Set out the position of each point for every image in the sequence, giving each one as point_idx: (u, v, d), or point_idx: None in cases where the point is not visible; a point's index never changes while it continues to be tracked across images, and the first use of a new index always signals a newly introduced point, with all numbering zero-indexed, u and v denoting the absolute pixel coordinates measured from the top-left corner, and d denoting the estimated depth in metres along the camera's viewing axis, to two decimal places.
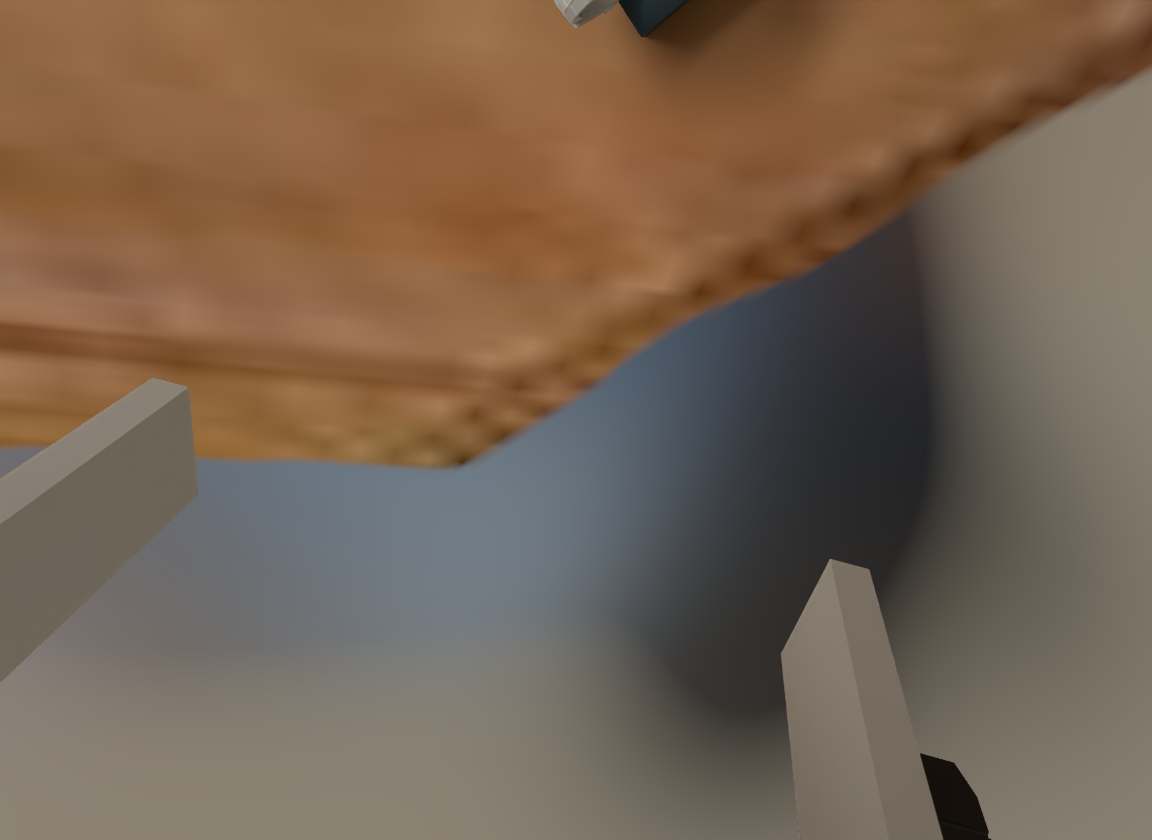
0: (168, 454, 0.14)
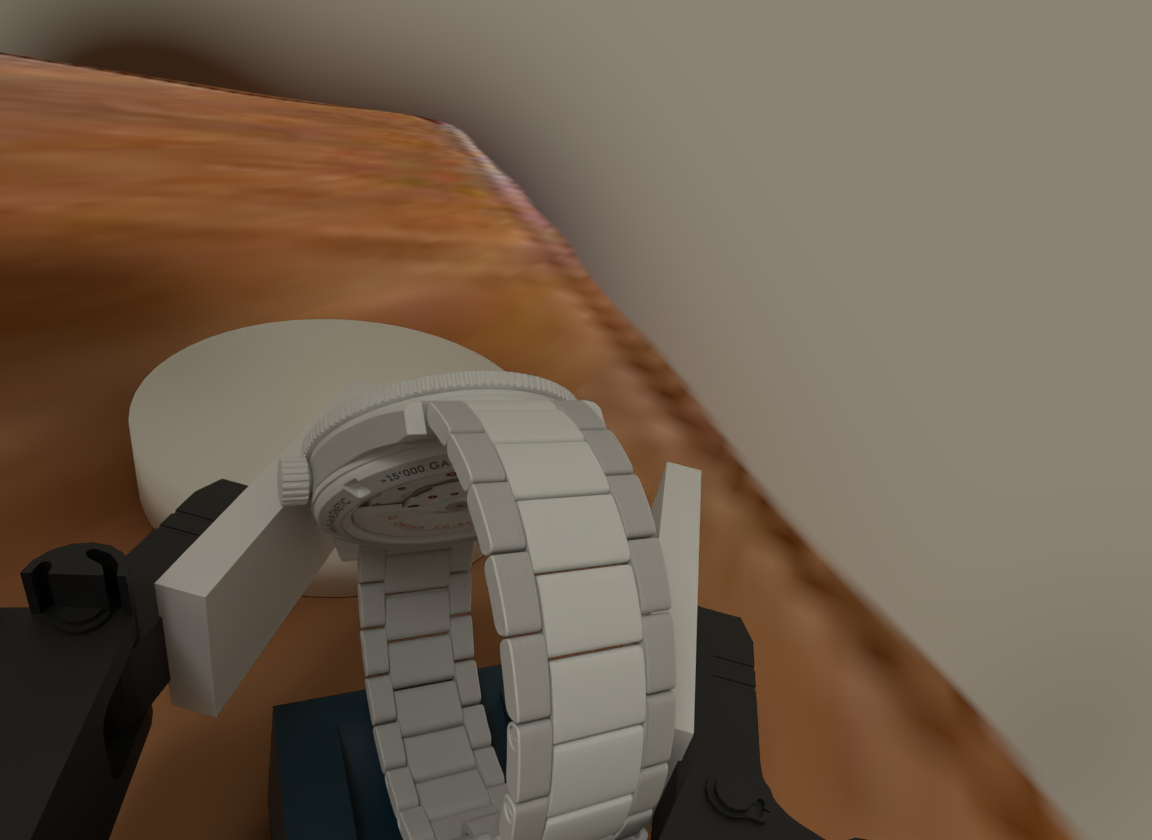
0: None
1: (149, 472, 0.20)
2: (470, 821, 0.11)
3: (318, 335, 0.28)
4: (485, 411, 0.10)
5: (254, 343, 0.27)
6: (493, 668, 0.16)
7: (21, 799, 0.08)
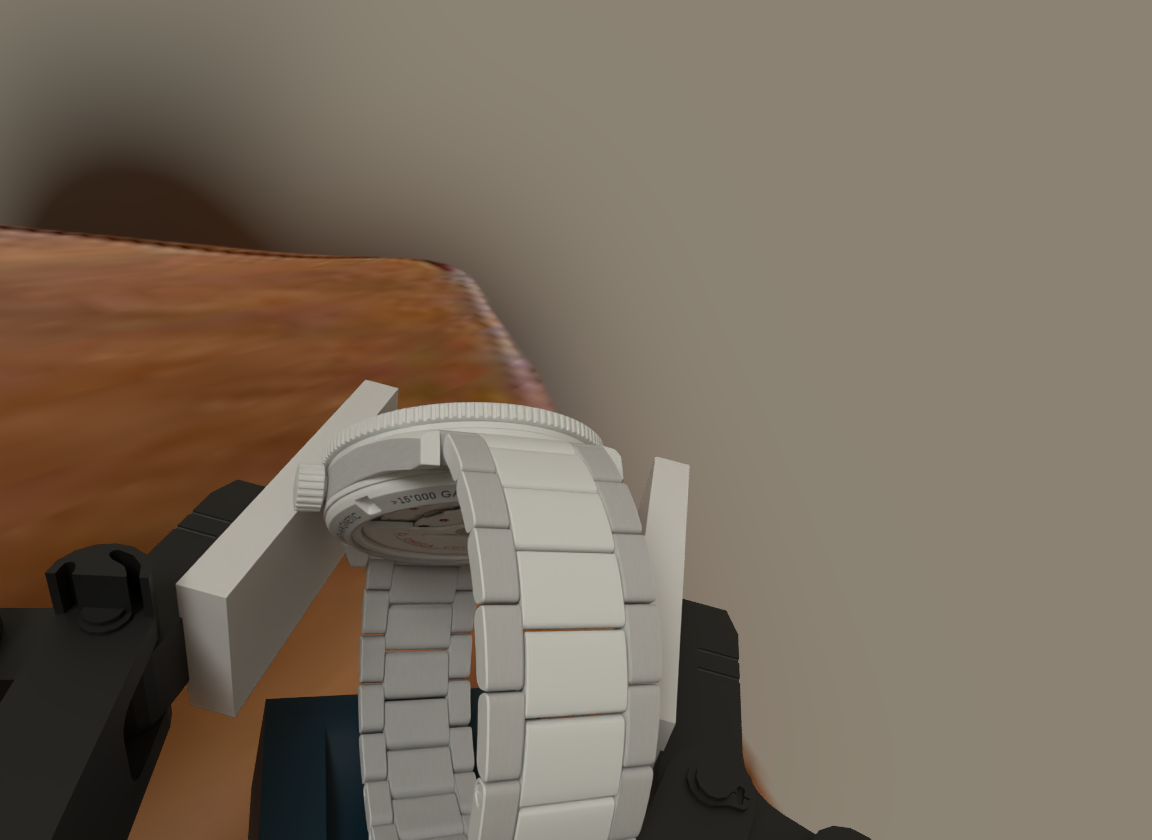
0: None
1: None
2: None
3: None
4: (501, 449, 0.10)
5: None
6: None
7: (41, 799, 0.08)
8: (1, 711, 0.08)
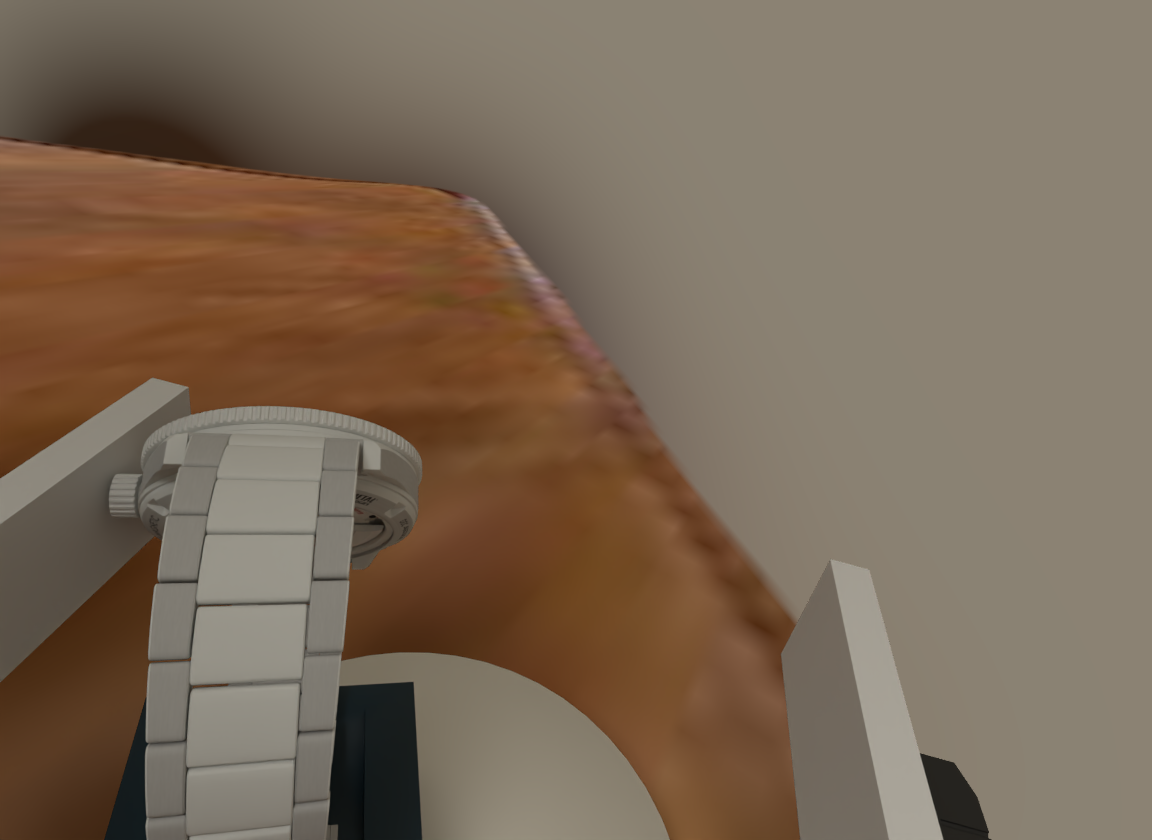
0: None
1: None
2: None
3: None
4: (239, 446, 0.11)
5: None
6: (367, 686, 0.17)
7: None
8: None
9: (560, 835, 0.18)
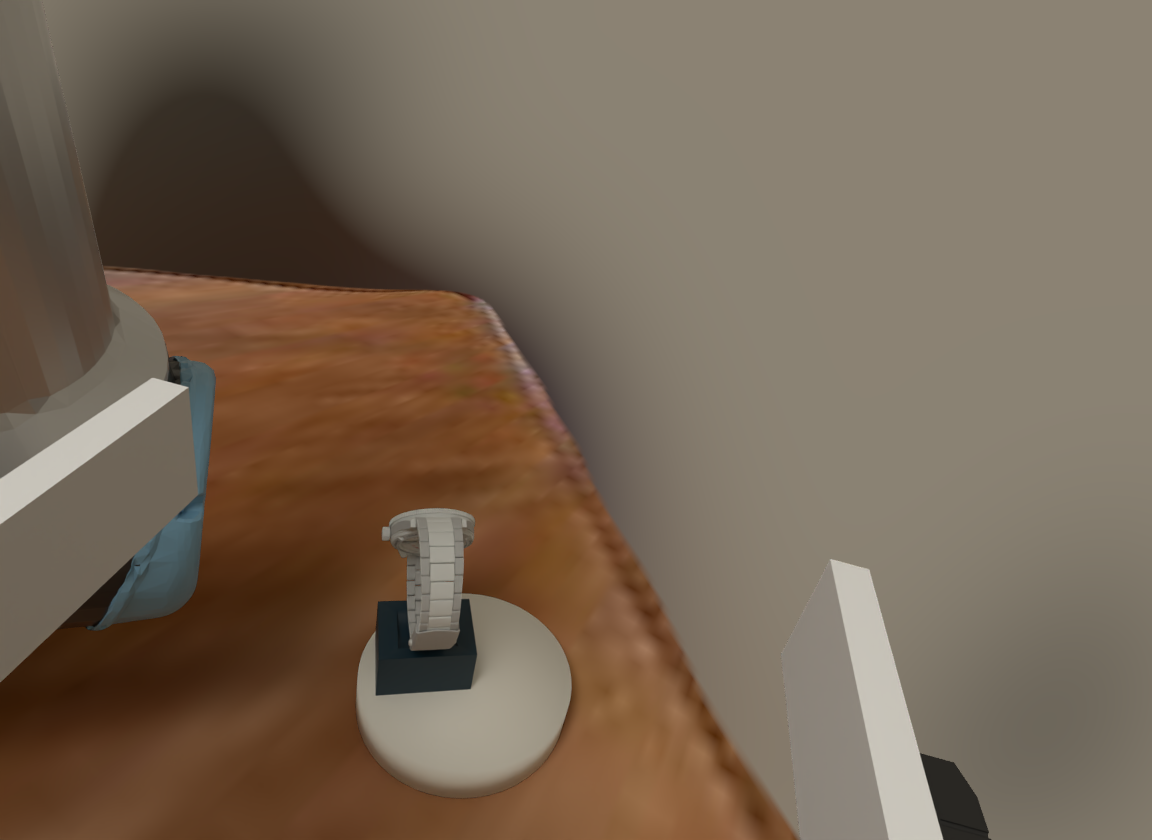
0: (168, 454, 0.14)
1: (379, 737, 0.40)
2: None
3: None
4: (430, 522, 0.39)
5: None
6: None
7: None
8: None
9: (524, 659, 0.46)
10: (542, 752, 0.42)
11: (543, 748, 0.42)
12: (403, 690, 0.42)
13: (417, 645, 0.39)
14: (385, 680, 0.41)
